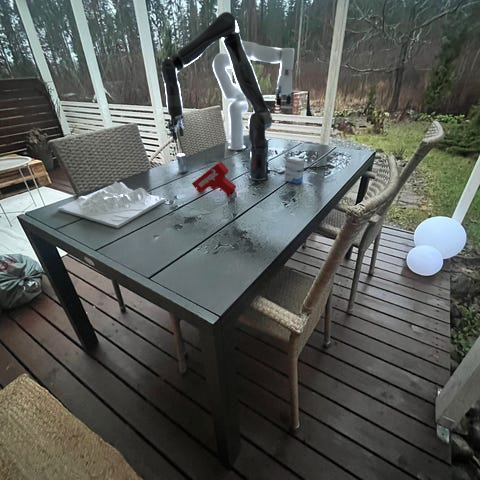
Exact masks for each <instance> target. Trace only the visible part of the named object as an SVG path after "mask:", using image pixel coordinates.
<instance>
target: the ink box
mask: <svg viewBox="0 0 480 480" xmlns="http://www.w3.org/2000/svg"><path fill="white" fill-rule="evenodd" d="M305 162H306V159H304V158H299V157H294V156H290V157H289V156H288V157H286V158H285V169H284V171H285V172H284V181H285V182H289V183H293V184H295V185H298V184H300V183H302V182H303V180H304V173H305V171H304V170H305V169H304V167H305Z"/></svg>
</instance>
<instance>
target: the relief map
mask: <svg viewBox="0 0 480 480" xmlns="http://www.w3.org/2000/svg"><path fill="white" fill-rule="evenodd" d="M164 202H166V198H165V197H162V196H157V195H153V194H150V193H149V192H148V191H147V190H145V189H144V188H143V187H138V188H136V189H132V188H129V187H128V186H126V184H125V183H123V182H122V181H119V182H118V181H117V180H115V181H114V182H113V183H112V184H111V185H107V186H106V187H103V188H101V189H99V190H97V191H93V192H92V193H89V194H87V195H80V196H79V197H78V198H76V199H75V200H73V201H70V202H68V203H65V204H64V205H61V206H59V207H57V209H58V211H60V212H63V213H67V214H70V215H73V216H76V217H79V218H83V219H86V220H89V221H94V222H96V223H100V224H102V225H106V226H109V227H112V228H116V229H119V228H121V227H123V226H124V225H126V224H128V223H130V222H131V221H134V220H135V219H137V218H139V217H141V216H142V215H143V214H145V213H147V212H149V211H151V210H152V209H154V208H156V207H158V206H159V205H161V204H163V203H164Z"/></svg>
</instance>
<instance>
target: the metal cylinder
mask: <svg viewBox="0 0 480 480" xmlns="http://www.w3.org/2000/svg"><path fill="white" fill-rule="evenodd" d="M176 160H177V167H178V173H180V174H186V173H187V172H188V169H187V159H186V154H185V153H177V154H176Z"/></svg>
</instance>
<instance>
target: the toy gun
mask: <svg viewBox="0 0 480 480" xmlns="http://www.w3.org/2000/svg"><path fill="white" fill-rule="evenodd" d="M228 173H229V169H228V168H227V166H226V165H225V164H224V163H223V162H222V161H219V162H217V163H216V164H214V166H212V167H211V168H210V169H209V170H207V171H206V172H204V173H203V174H202V175H201V176H199V177H198V178H197V179H196V180H194V181H193V182H192V183H191V184H192V186H193V187H194V189H195V190H196V191H197V193H199V194H201V193H203V192H204V191H205V190H207V189H208V188H210V189H211V190H213V191H215V190H216V189H218V188H219V189H220V190H222V191H223V192H224V193H225V194H226V196H227V197H229V196H230V195H233V194H235V192H236V188H237V186H236V184H235V183H233V182H232V181H230V180H229V179H228V178H227V177H226V175H227V174H228Z"/></svg>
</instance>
